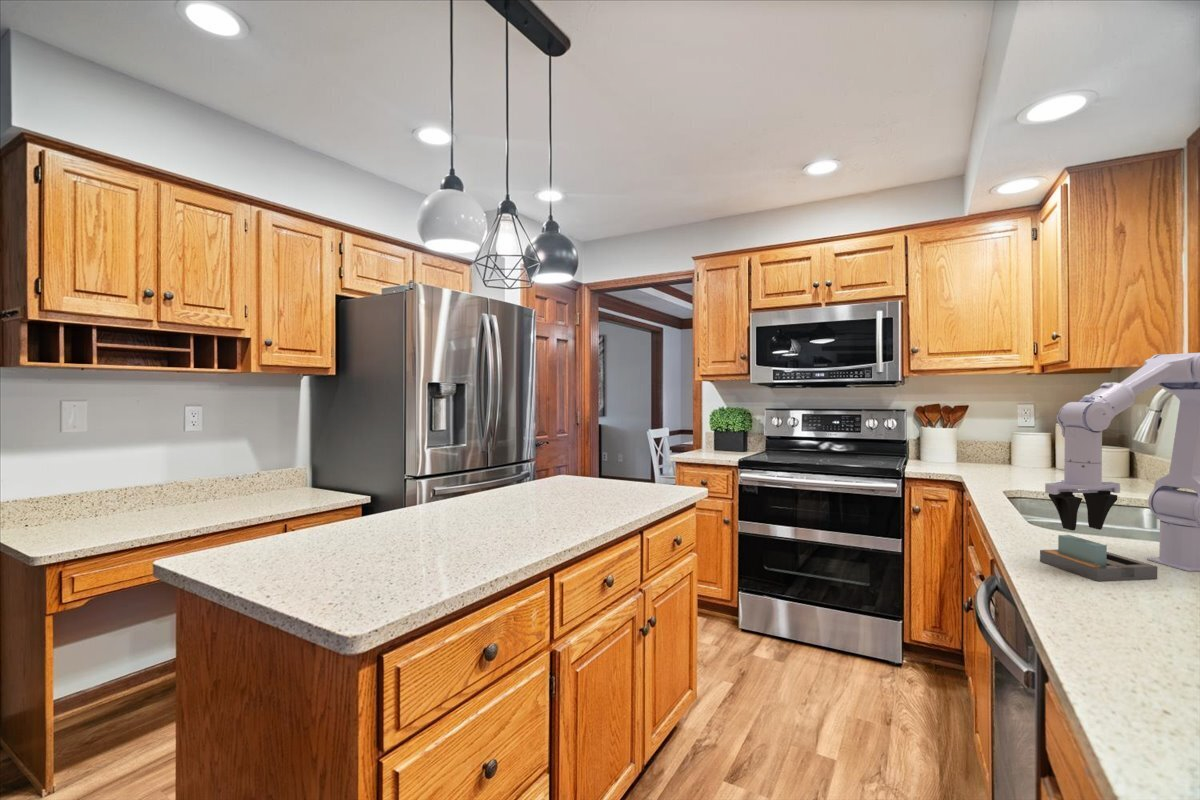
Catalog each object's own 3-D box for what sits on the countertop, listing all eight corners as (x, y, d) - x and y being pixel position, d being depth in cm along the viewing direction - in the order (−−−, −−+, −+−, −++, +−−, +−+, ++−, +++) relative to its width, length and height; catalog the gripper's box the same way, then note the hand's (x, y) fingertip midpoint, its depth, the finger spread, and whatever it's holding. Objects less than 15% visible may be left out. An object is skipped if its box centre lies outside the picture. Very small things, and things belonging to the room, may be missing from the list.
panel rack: (1094, 559, 121) (1094, 546, 121) (1157, 578, 109) (1157, 565, 108) (1039, 561, 120) (1040, 548, 120) (1097, 581, 107) (1097, 567, 107)
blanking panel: (1068, 561, 118) (1068, 534, 118) (1106, 573, 110) (1106, 545, 110) (1058, 561, 118) (1058, 535, 118) (1095, 573, 110) (1095, 545, 110)
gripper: (1096, 458, 118) (1095, 523, 118) (1032, 459, 117) (1031, 525, 117) (1131, 462, 111) (1130, 531, 111) (1063, 464, 110) (1062, 533, 110)
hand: (1082, 528), depth 114 cm, fingers open, 5 cm apart
